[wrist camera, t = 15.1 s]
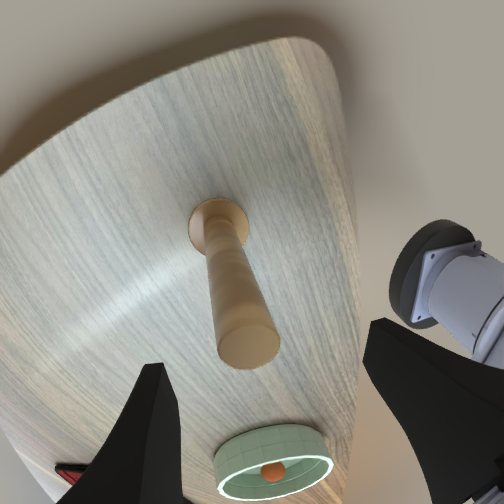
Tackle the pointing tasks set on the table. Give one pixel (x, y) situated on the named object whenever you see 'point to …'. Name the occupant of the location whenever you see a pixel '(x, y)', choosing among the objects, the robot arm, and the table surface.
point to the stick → (233, 286)
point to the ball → (273, 471)
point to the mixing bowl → (269, 451)
